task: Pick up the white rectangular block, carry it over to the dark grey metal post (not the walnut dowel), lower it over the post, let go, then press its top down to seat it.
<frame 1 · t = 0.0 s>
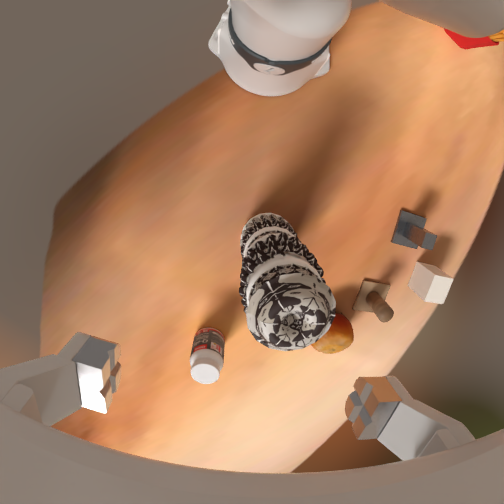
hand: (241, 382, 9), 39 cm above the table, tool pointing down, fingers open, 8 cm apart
pill bottle: (209, 338, 54), on the table
walnut dowel: (371, 296, 53), on the table
post: (408, 229, 49), on the table
decorative candle: (266, 238, 48), on the table
white rectangular block: (421, 275, 52), on the table
fruit: (326, 323, 55), on the table
french fries: (454, 34, 36), on the table
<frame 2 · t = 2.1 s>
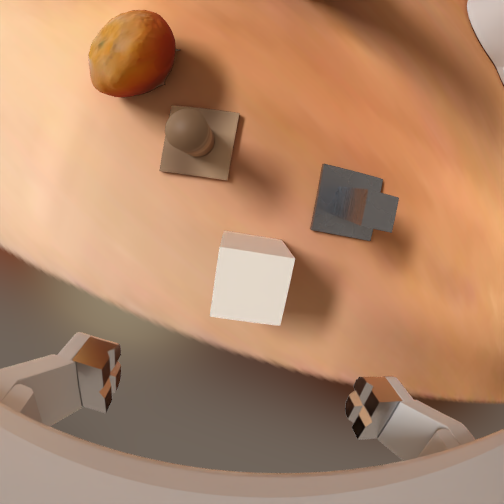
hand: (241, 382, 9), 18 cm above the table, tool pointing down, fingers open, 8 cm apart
walnut dowel: (199, 142, 25), on the table
post: (346, 203, 26), on the table
white rectangular block: (248, 262, 27), on the table
fruit: (142, 66, 23), on the table
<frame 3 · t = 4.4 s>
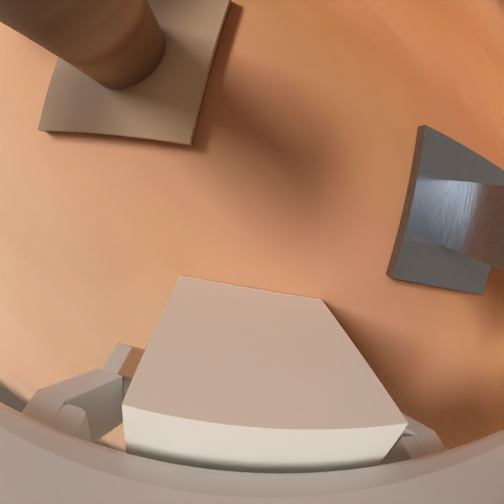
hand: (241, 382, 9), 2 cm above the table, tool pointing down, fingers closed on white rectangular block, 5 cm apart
walnut dowel: (130, 57, 8), on the table
post: (456, 217, 11), on the table
white rectangular block: (239, 349, 11), on the table, touching gripper
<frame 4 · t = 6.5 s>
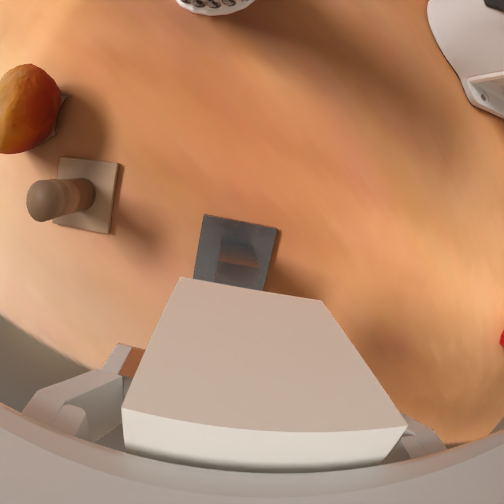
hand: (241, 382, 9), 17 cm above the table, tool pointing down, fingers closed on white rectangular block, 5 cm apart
walnut dowel: (84, 193, 23), on the table
post: (233, 256, 25), on the table
white rectangular block: (239, 350, 11), point 14 cm above the table, touching gripper
fruit: (41, 114, 21), on the table
when the fingers open (5 cm above the table, at t = 9.0 s): white rectangular block drops 1 cm, resting on post.
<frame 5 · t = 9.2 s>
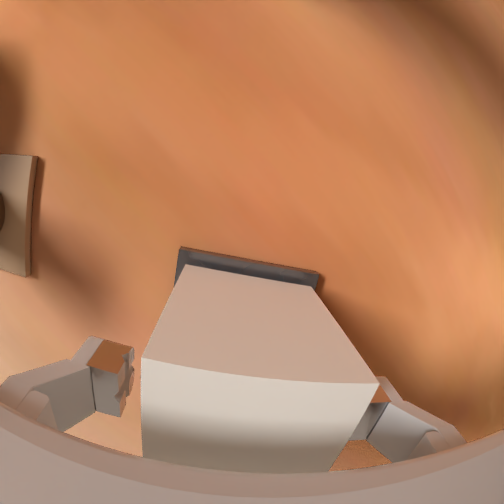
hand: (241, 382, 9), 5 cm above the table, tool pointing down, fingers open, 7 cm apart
post: (237, 321, 14), on the table
white rectangular block: (237, 332, 13), point 1 cm above the table, touching post
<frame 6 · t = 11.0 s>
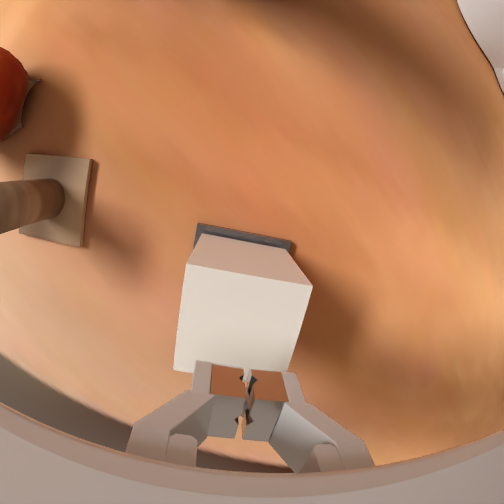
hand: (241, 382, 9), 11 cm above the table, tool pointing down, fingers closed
walnut dowel: (53, 197, 18), on the table
post: (235, 275, 20), on the table
white rectangular block: (235, 281, 19), point 1 cm above the table, touching post
fruit: (9, 104, 15), on the table
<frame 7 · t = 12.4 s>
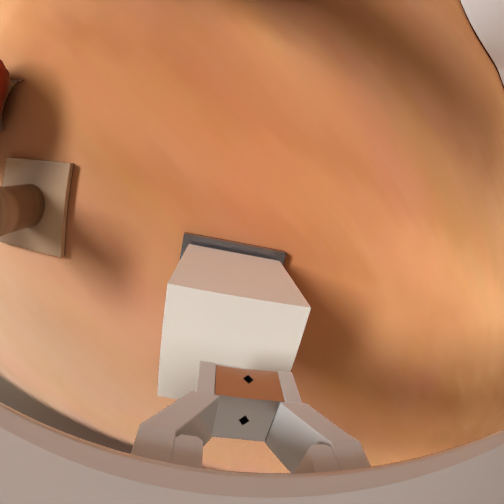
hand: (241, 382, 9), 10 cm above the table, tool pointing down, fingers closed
walnut dowel: (33, 204, 16), on the table
post: (225, 288, 18), on the table
white rectangular block: (226, 295, 17), point 1 cm above the table, touching post
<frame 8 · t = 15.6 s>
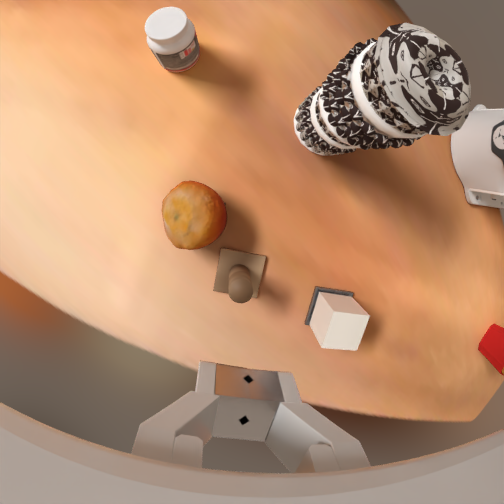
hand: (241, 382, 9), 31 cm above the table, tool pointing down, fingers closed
pill bottle: (179, 55, 33), on the table
walnut dowel: (239, 272, 41), on the table
post: (328, 307, 43), on the table
decorative candle: (323, 125, 37), on the table
white rectangular block: (330, 310, 42), point 1 cm above the table, touching post
fruit: (196, 212, 39), on the table
french fries: (487, 336, 49), on the table
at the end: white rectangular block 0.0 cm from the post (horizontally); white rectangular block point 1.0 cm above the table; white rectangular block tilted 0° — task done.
